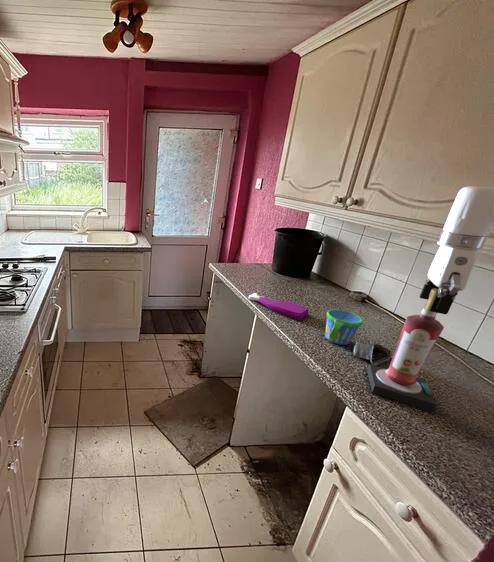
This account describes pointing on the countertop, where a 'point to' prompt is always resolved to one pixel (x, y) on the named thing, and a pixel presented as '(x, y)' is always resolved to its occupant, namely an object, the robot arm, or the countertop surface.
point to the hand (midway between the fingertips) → (432, 305)
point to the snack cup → (341, 326)
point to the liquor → (415, 344)
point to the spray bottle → (282, 307)
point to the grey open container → (372, 352)
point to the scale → (401, 389)
